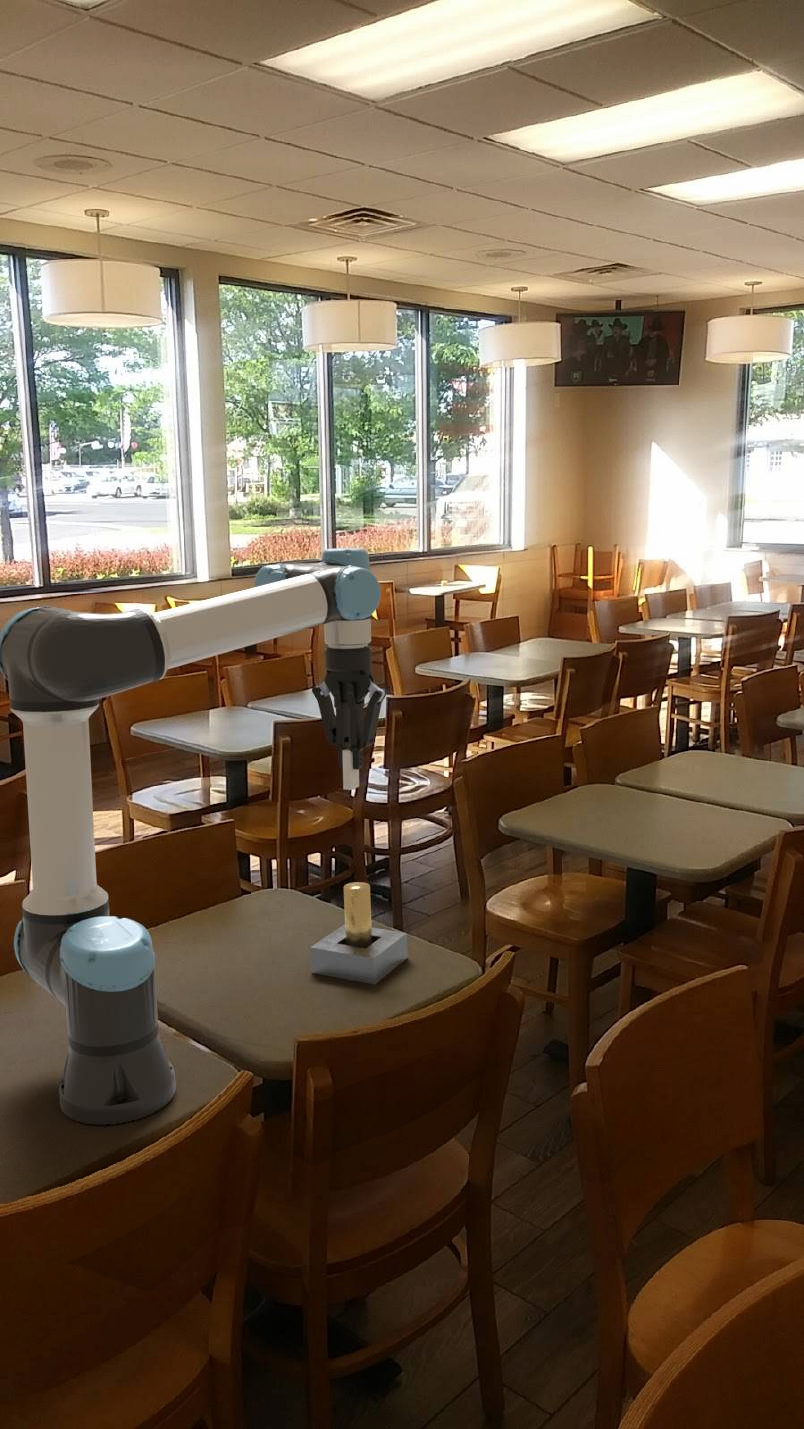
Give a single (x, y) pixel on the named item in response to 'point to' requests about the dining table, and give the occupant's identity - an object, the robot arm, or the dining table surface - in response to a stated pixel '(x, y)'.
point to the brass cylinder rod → (358, 914)
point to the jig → (359, 956)
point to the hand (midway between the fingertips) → (351, 787)
